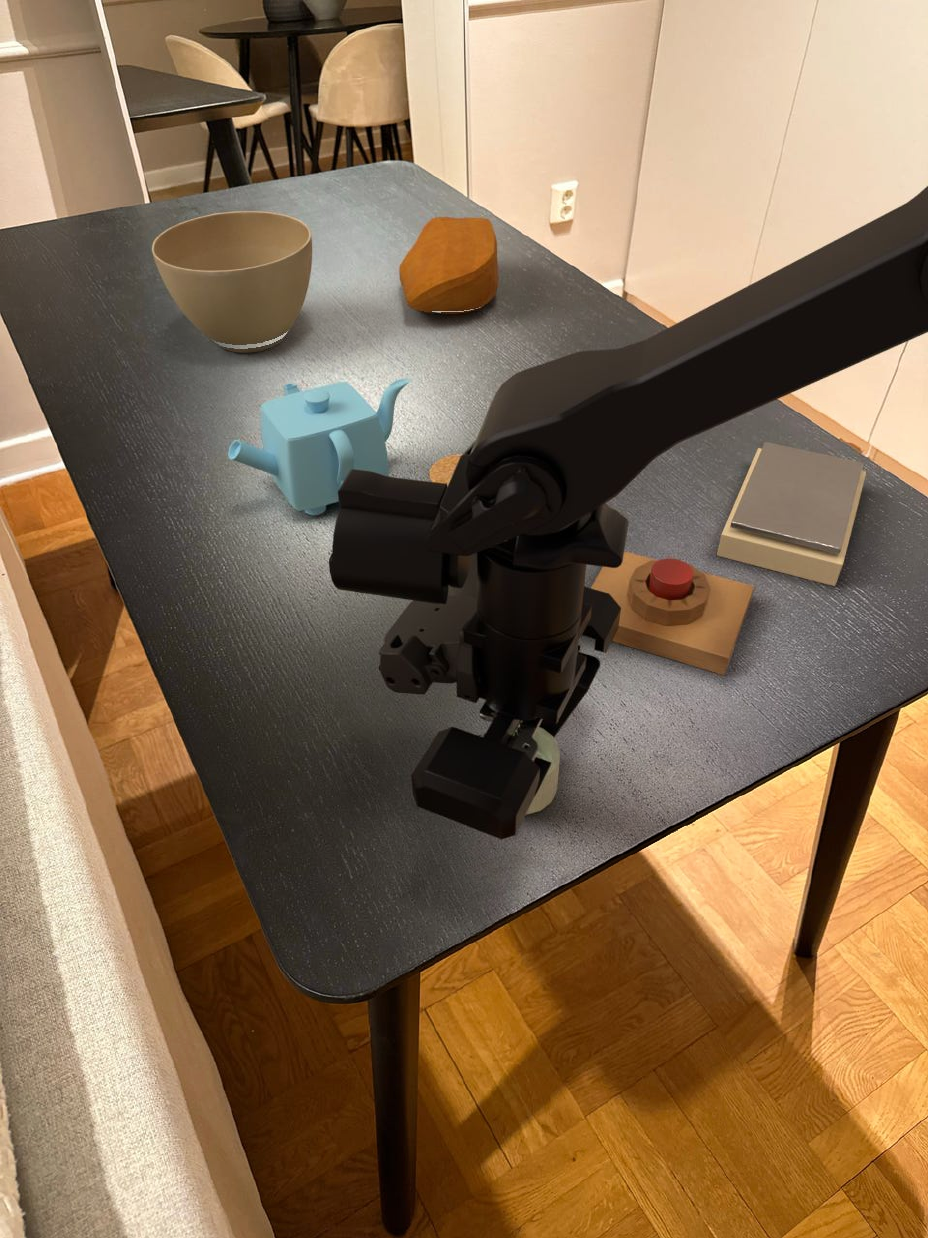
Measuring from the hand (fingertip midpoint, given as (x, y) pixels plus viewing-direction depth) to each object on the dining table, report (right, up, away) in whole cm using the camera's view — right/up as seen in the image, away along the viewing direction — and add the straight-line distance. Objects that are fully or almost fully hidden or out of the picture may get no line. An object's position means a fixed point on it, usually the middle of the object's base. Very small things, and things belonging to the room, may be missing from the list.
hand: (521, 778), depth 59 cm
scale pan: (+26, +21, +20) cm, 39 cm away
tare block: (+12, +11, +13) cm, 21 cm away
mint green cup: (0, -1, +1) cm, 1 cm away
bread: (-6, +53, +59) cm, 80 cm away
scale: (+26, +19, +22) cm, 39 cm away
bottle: (-4, +10, +12) cm, 16 cm away
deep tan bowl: (-30, +45, +51) cm, 75 cm away
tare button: (+12, +13, +11) cm, 21 cm away
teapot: (-17, +24, +28) cm, 40 cm away
